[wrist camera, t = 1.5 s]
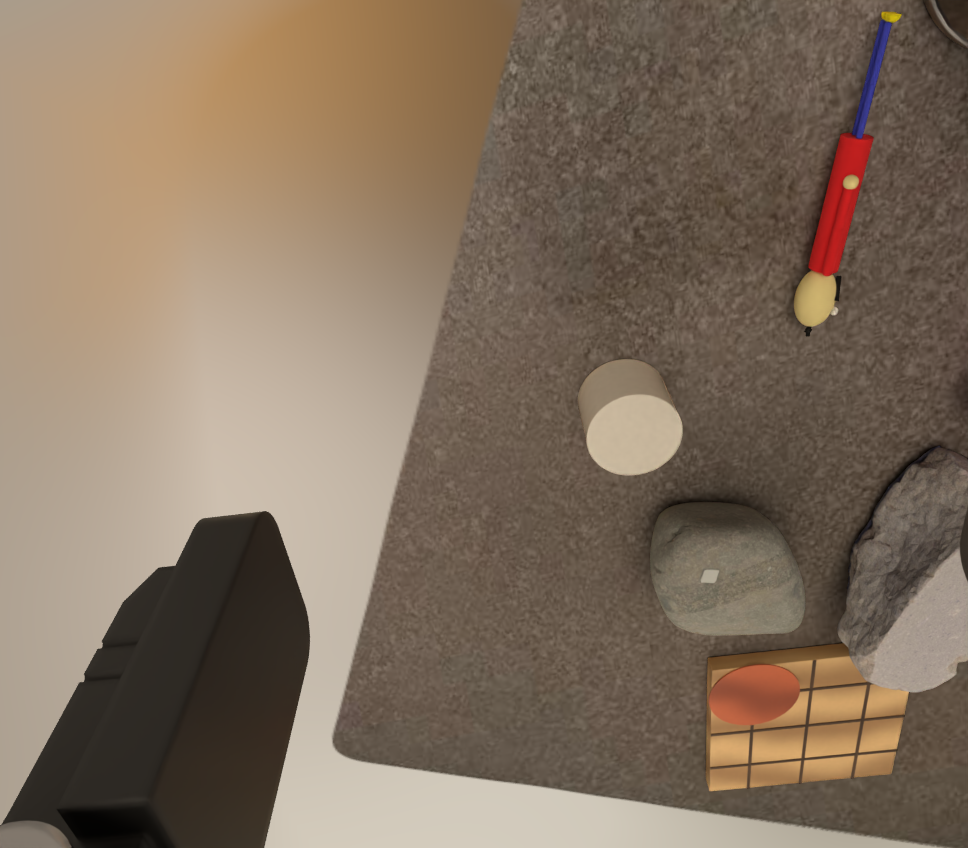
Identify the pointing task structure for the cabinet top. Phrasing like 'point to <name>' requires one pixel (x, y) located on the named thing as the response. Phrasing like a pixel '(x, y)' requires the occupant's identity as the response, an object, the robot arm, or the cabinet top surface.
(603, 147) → the cabinet top surface
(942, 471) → the decorative stone
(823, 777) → the board
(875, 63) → the red screwdriver
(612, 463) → the cream short cylinder
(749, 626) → the stone
